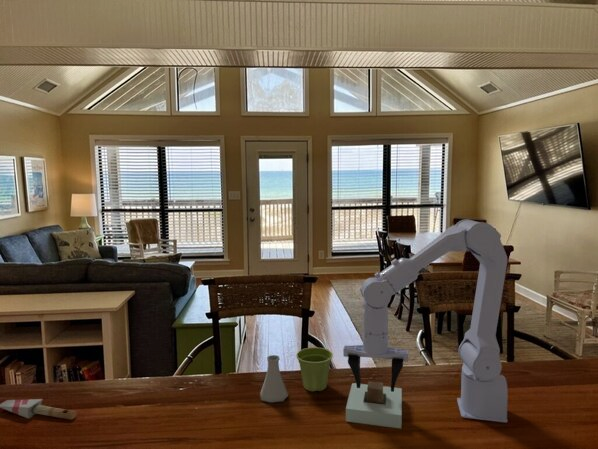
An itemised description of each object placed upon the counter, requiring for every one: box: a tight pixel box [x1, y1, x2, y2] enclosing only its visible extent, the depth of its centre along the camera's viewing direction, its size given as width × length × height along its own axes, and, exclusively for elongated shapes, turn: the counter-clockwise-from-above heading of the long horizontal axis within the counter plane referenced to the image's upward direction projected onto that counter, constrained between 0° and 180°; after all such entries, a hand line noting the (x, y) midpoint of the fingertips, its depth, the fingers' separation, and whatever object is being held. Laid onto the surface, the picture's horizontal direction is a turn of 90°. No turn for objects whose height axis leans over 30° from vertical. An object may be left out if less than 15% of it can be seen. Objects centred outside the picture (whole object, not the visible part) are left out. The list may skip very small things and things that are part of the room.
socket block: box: [345, 382, 403, 429], centre depth 94 cm, size 12×12×3 cm
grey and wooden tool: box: [0, 398, 78, 421], centre depth 95 cm, size 4×3×20 cm
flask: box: [259, 354, 289, 404], centre depth 101 cm, size 7×7×10 cm
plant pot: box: [296, 346, 334, 392], centre depth 106 cm, size 9×9×9 cm
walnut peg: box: [367, 380, 384, 404], centre depth 94 cm, size 3×3×6 cm
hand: (375, 387), depth 94 cm, fingers open, 7 cm apart
